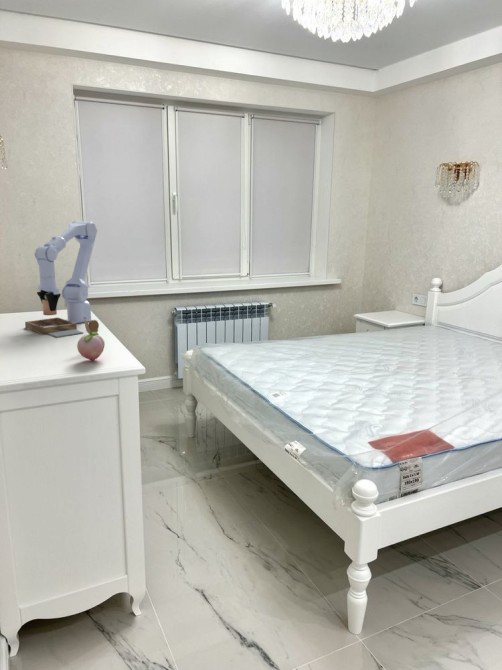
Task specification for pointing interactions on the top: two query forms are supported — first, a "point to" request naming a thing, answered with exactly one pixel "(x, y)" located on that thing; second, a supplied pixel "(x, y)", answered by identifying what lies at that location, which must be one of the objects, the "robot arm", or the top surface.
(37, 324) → the frame
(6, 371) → the top surface
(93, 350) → the decorative fruit
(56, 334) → the mat
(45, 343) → the top surface
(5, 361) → the top surface
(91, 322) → the snail figurine
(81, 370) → the top surface
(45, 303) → the terracotta pot
